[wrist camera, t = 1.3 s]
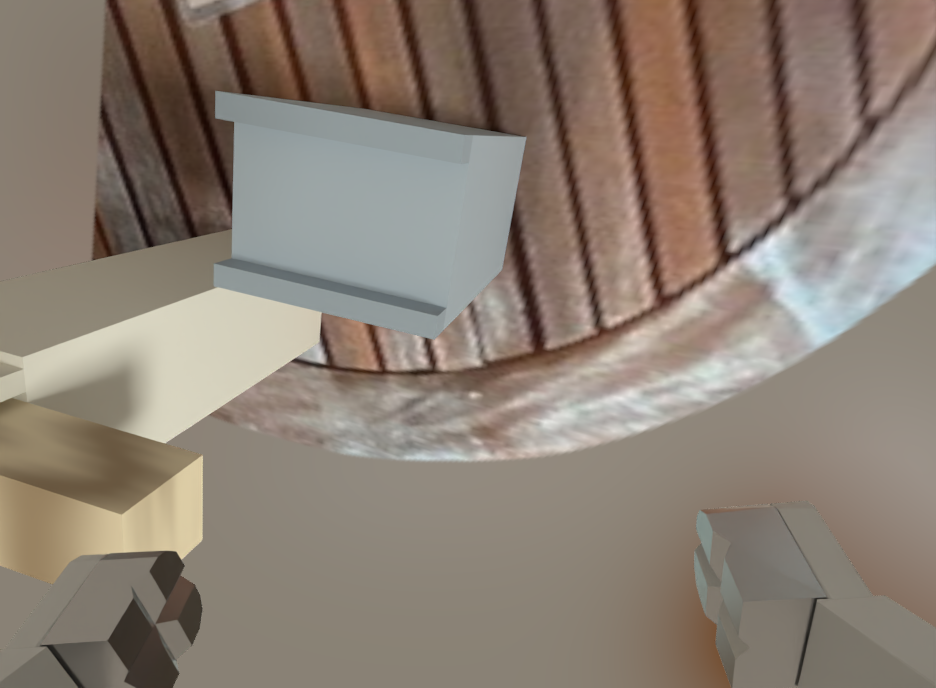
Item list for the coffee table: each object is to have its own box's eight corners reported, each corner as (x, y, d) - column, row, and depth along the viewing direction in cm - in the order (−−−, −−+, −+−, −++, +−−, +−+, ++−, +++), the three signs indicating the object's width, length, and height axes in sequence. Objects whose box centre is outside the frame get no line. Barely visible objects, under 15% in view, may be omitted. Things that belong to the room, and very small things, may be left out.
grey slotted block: (352, 237, 47) (213, 286, 31) (363, 108, 43) (215, 90, 28) (501, 269, 45) (434, 339, 29) (526, 137, 41) (464, 135, 26)
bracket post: (233, 320, 52) (-185, 512, 25) (235, 228, 49) (-233, 333, 22) (319, 342, 50) (-28, 569, 24) (326, 248, 48) (-58, 385, 21)
